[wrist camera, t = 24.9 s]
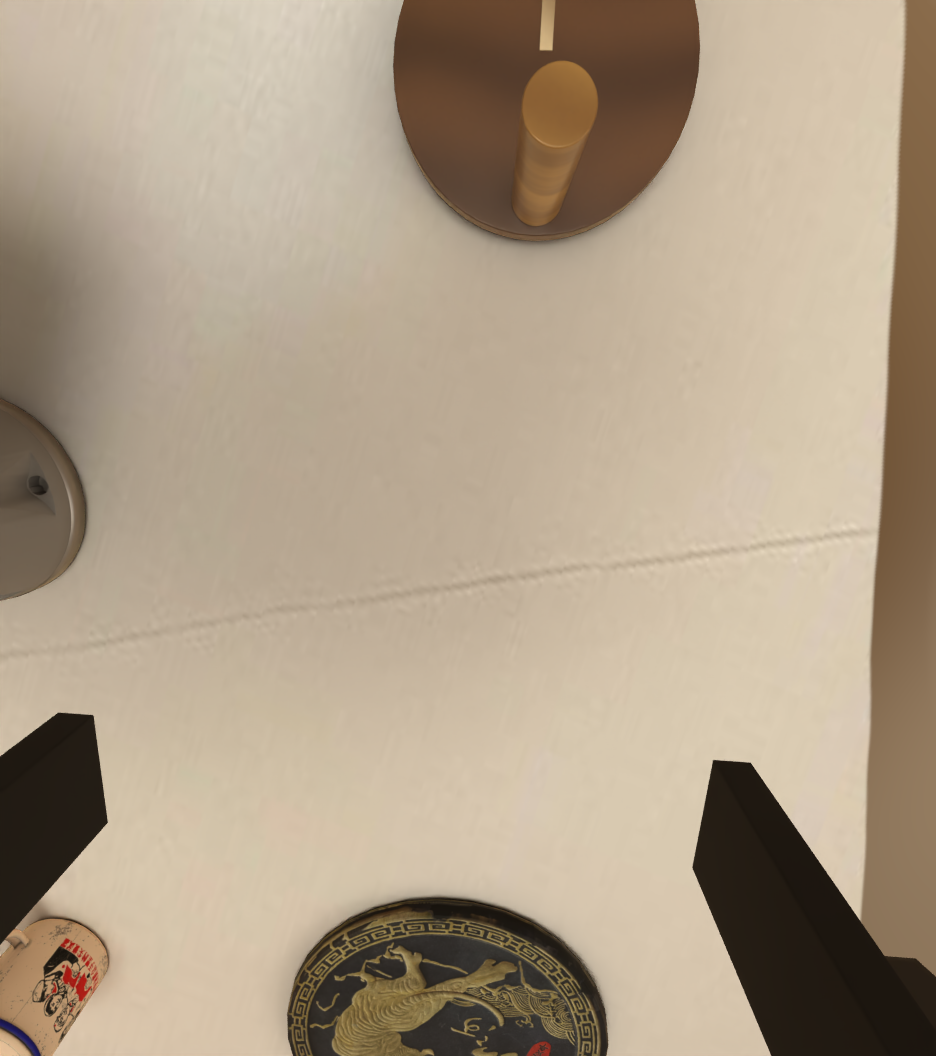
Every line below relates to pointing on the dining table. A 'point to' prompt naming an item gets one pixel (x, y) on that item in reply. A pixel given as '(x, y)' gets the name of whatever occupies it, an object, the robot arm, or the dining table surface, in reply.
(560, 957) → the decorative plate
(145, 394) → the dining table surface
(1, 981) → the teacup with lid
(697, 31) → the turntable
